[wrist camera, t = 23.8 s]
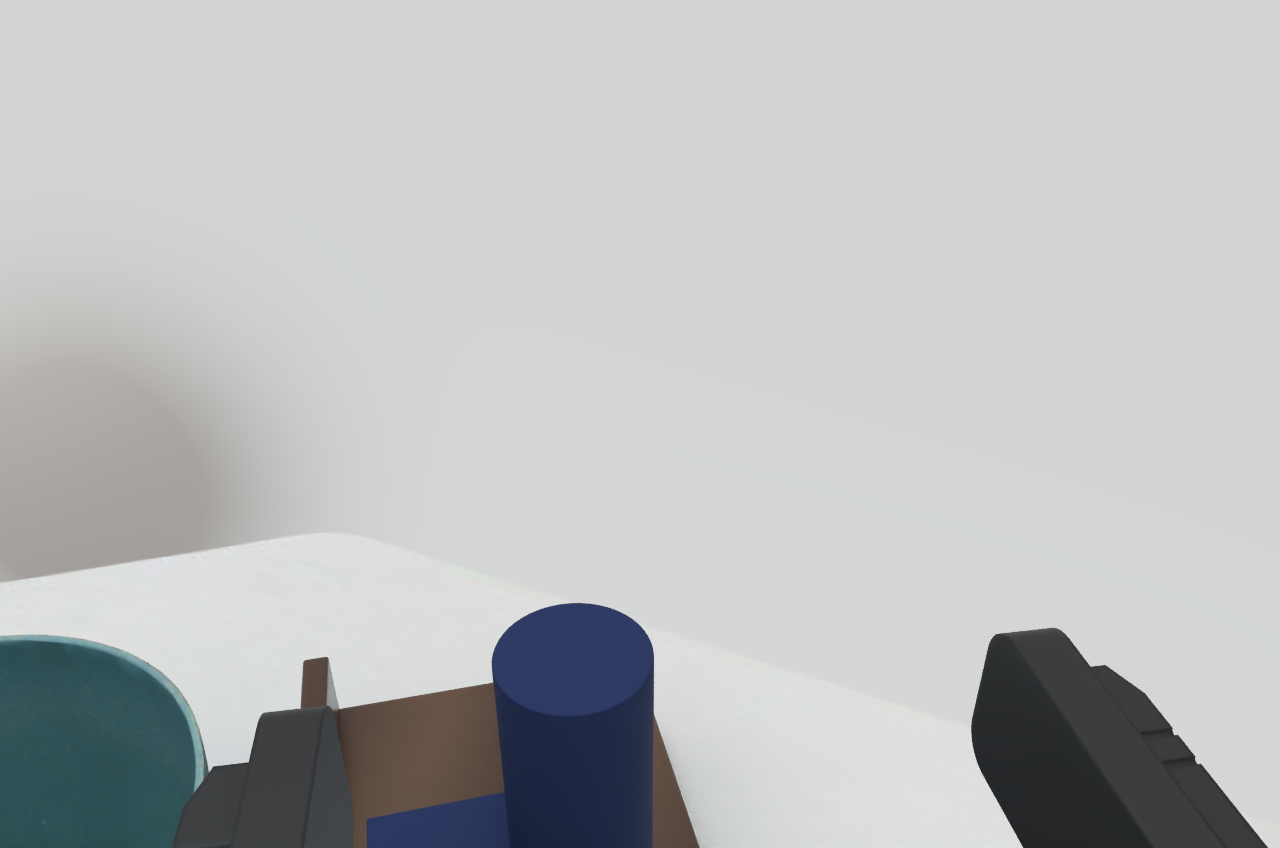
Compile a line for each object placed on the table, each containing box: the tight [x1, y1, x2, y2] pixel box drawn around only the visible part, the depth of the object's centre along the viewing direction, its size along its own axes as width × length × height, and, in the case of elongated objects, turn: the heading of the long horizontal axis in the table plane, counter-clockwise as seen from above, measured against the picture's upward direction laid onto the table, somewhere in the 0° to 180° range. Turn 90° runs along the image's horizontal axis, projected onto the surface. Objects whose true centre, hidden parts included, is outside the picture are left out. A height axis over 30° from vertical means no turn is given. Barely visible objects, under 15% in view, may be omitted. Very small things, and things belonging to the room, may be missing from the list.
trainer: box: [367, 603, 654, 848], centre depth 32 cm, size 9×5×11 cm, turn 104°
